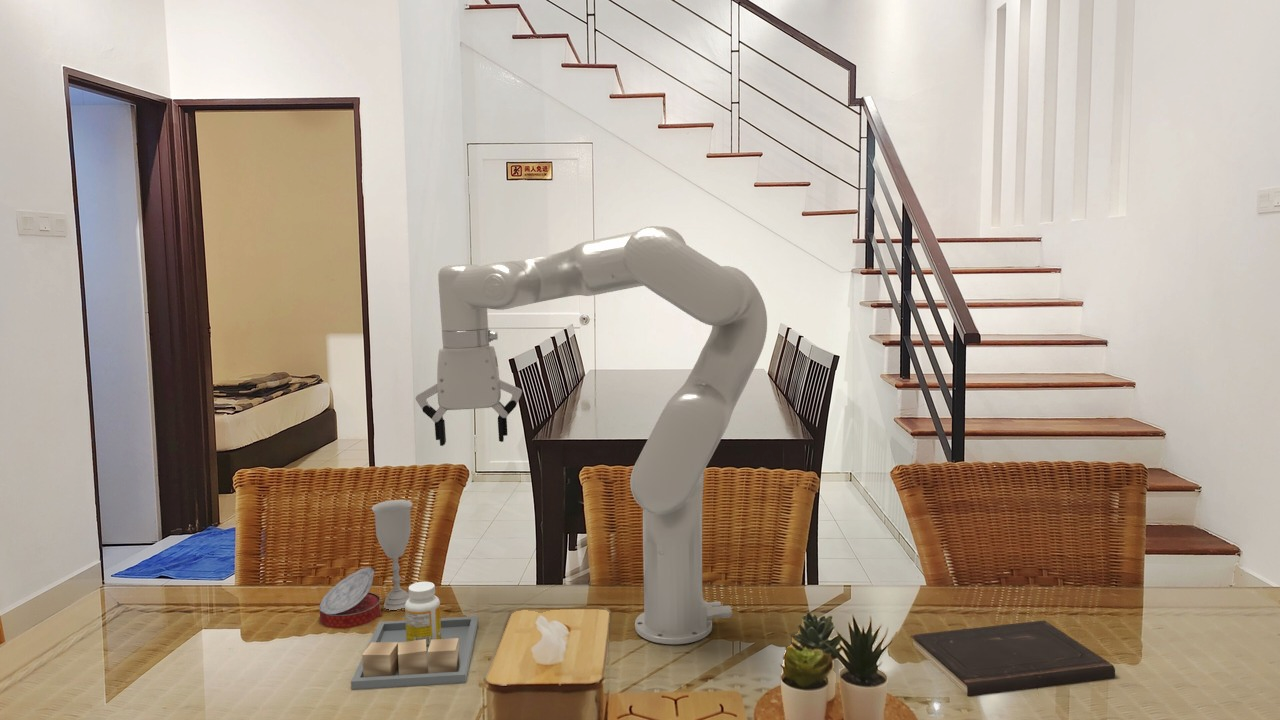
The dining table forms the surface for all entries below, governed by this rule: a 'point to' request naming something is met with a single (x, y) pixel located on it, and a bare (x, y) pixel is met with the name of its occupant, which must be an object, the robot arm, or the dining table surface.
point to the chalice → (394, 542)
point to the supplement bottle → (422, 613)
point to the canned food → (350, 601)
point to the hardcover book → (1011, 657)
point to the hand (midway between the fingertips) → (472, 442)
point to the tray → (449, 629)
